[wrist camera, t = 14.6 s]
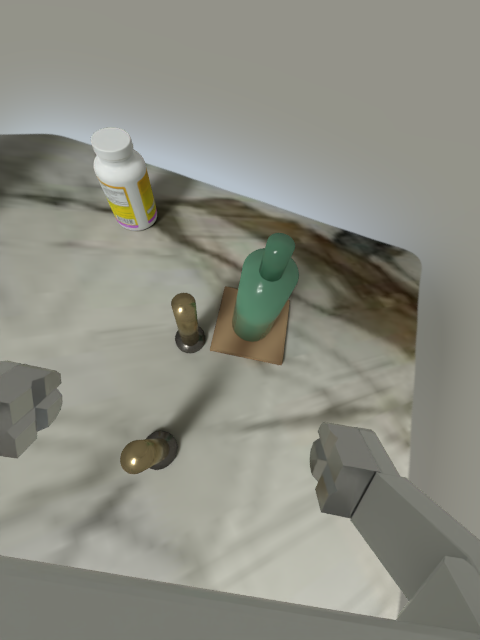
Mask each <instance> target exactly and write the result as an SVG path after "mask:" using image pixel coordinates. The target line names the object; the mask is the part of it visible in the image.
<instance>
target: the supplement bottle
mask: <svg viewBox="0 0 480 640" xmlns="http://www.w3.org/2000/svg"><path fill="white" fill-rule="evenodd" d="M91 143H92V146H93V148H94V152H95V153H96V154H97V156H96V157H95V160H94V170H95V173H96V175H97V177H98V180H99V182H100V184H101V186H102V189H103V191H104V193H105V195H106V198H107V200H108V202H109V204H110V207H111V209H112V211H113V213H114V216H115V218H116V220H117V221H118V223H119V224H120V225H121V226H122V227H124V228H126V229H128V230H133V231H139V230H144V229H146V228H148V227H150V226H151V225H153V224H154V222H155V221H156V218H157V209H156V205H155V201H154V197H153V193H152V189H151V185H150V181H149V177H148V173H147V168H146V165H145V161H144V159H143V158H142V156H141V155H140V154H139V153H138V152H137V151H135V150H134V149H133V144H132V141H131V137H130V135H129V134H128V133H127V132H126V131H124V130H122V129H120V128H114V127H107V128H103V129H100V130H98V131H96V132H95V133H94V134H93V135H92V137H91Z"/></svg>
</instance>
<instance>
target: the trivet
mask: <svg viewBox="0 0 480 640" xmlns="http://www.w3.org/2000/svg"><path fill="white" fill-rule="evenodd" d="M237 293H238V289H235V288H231V287H226V286H225V289H224V293H223V297H222V301H221V305H220V310H219V314H218V318H217V322H216V326H215V330H214V334H213V339H212V343H211V347H210V351H215V352H220V353H225V354H229V355H234V356H239V357H244V358H249V359H253V360H258V361H263V362H268V363H272V364H277V365H282V362H283V353H284V345H285V336H286V328H287V319H288V311H289V303H290V300H287V302H286V303H285V305H284V307H283V309H282V310H281V312H280V314H279V316H278V317H277V319H276V321H275V322H274V324H273V326H272V328H271V329H270V331H269V333H268V334H267V336H266V337H265V338H263V339H262V340H259V341H255V342H250V341H245V340H243V339H241V338H240V337H239V336H237V334H236V333H235V332H234V330H233V327H232V318H233V313H234V308H235V303H236V298H237Z"/></svg>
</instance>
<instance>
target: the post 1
mask: <svg viewBox="0 0 480 640" xmlns="http://www.w3.org/2000/svg"><path fill="white" fill-rule="evenodd" d="M176 453H177V442H176V440H175V438H174V437H173V435H171V434H170V433H168V432H165V431H157V432H154V433H152V434H151V435H149V436H148V437H147V438H146V439H145V440H135V441H132V442H130V443H129V444H127V445H126V447H125V448H124V449H123V451H122V453H121V458H120V462H121V466H122V468H123V469H124V470H125V471H126V472H127V473H130V474H138V473H140V472H142V471H144V470H146V469H148V468H151V469H154V470H159V469H163V468H165V467H167V466H168V465H169V464H171V462H172V461H173V460H174V458H175V456H176Z"/></svg>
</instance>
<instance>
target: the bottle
mask: <svg viewBox="0 0 480 640" xmlns="http://www.w3.org/2000/svg"><path fill="white" fill-rule="evenodd" d="M294 249H295V243H294V241H293V239H292V238H291V237H290V236H288V235H286V234H283V233H275V234H272V235H271V236H270V237H269V238H268V240H267V244H266V247H265V248H263V249H259V250H256V251H254V252H252V253H251V254H249V255H248V256H247V258H246V259H245V261H244V264H243V268H242V273H241V278H240V283H239V288H238V293H237V298H236V303H235V308H234V313H233V318H232V327H233V330H234V332H235V333H236V334H237V336H239V337H240V338H241V339H243V340H245V341H250V342H255V341H259V340H262V339H263V338H265V337H266V336H267V334H268V333H269V331H270V329H271V328H272V326H273V324H274V322H275V321H276V319H277V317H278V316H279V314H280V312H281V310H282V309H283V307H284V305H285V303H286V302H287V300H288V298H289V296H290V295H291V293H292V291H293V289H294V288H295V286H296V284H297V282H298V278H299V272H298V268H297V266H296V264H295V262H294V261H293V259H292V258H291V256H292V254H293V251H294Z"/></svg>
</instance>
